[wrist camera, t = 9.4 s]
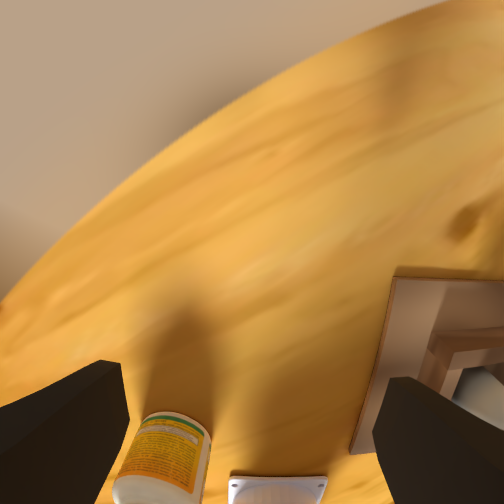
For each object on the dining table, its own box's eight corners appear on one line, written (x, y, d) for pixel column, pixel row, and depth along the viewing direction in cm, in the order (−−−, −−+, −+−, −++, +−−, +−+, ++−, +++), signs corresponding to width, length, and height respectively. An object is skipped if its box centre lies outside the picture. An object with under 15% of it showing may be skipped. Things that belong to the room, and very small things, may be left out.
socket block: (483, 425, 21) (501, 447, 17) (348, 449, 21) (358, 482, 17) (535, 281, 18) (564, 295, 14) (393, 276, 18) (420, 296, 14)
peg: (467, 387, 19) (532, 463, 10) (435, 394, 19) (498, 482, 10) (479, 351, 18) (557, 423, 9) (447, 357, 18) (525, 441, 9)
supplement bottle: (222, 453, 21) (210, 559, 11) (160, 460, 21) (131, 554, 12) (194, 402, 20) (164, 518, 10) (128, 412, 20) (79, 511, 11)
